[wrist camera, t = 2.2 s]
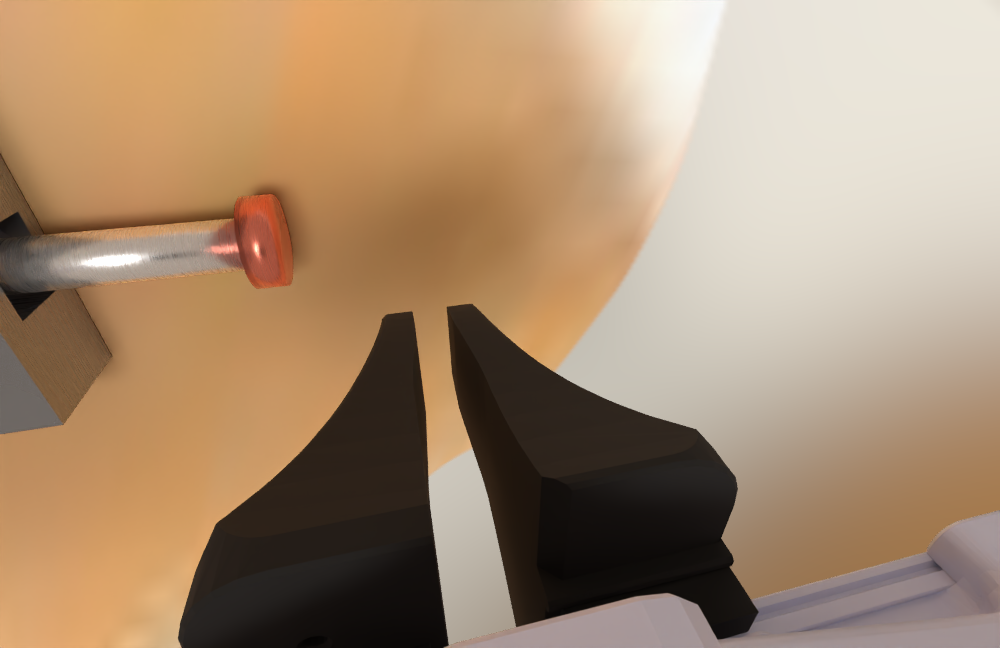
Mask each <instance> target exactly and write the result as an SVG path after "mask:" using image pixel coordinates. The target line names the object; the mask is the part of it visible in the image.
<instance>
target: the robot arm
mask: <svg viewBox="0 0 1000 648" xmlns="http://www.w3.org/2000/svg"><path fill="white" fill-rule="evenodd" d="M447 315H448V327H449V340H450V352H451V365H452V375H453V380H454V385H455V390H456V395H457V400H458V405H459V409H460V412H461V415H462V418H463V421H464V424H465V427H466V430H467V433H468V436H469V439H470V442H471V445H472V448H473V451H474V453H475V457H476V459H477V462H478V466H479V468H480V471H481V474H482V477H483V480H484V484H485V487H486V491H487V494H488V498H489V502H490V507H491V511H492V516H493V520H494V524H495V529H496V534H497V538H498V543H499V548H500V552H501V557H502V561H503V566H504V571H505V575H506V580H507V585H508V590H509V594H510V599H511V604H512V609H513V614H514V619H515V623H516V628H512V629H508V630H504V631H500V632H496V633H493V634H489V635H485V636H481V637H477V638H473V639H469V640H465V641H461V642H457V643H455V644H452V645H449V644H448V637H447V629H446V622H445V615H444V608H443V600H442V592H441V585H440V577H439V570H438V563H437V555H436V548H435V541H434V533H433V526H432V518H431V511H430V500H429V484H428V457H427V430H426V410H425V402H424V394H423V386H422V378H421V371H420V363H419V355H418V347H417V339H416V331H415V323H414V318H413V313H412V311H411V312H403V313H395V314H387V315H386V316H385V317H384V318H383V319H382V323H381V327H380V330H379V333H378V336H377V338H376V341H375V343H374V346H373V348H372V350H371V352H370V354H369V356H368V358H367V360H366V362H365V364H364V366H363V368H362V370H361V372H360V374H359V375H358V377H357V379H356V380H355V382H354V384H353V386H352V387H351V389H350V391H349V392H348V394H347V395H346V397H345V398H344V400H343V401H342V403H341V404H340V405H339V407H338V408H337V410H336V411H335V412H334V414H333V415H332V416H331V418H330V419H329V420H328V421H327V423H326V424H325V425H324V426H323V427H322V429H321V430H320V431H319V432H318V433H317V435H316V436H315V437H314V438H313V439H312V440H311V442H310V443H309V444H308V445H307V446H306V447H305V448H304V449H303V450H302V451H301V452H300V453H299V454H298V455H297V456H296V457H295V458H294V459H293V460H292V461H291V462H290V463H289V464H288V465H287V466H286V467H285V468H284V469H283V470H282V471H281V472H280V473H278V474H277V475H276V476H275V477H274V478H273V479H272V480H271V481H270V482H268V483H267V484H266V485H265V486H264V487H263V488H261V489H260V490H259V491H258V492H256V493H255V494H254V495H252V496H251V497H250V498H249V499H247V500H246V501H245V502H244V503H242V504H241V505H240V506H238V507H237V508H236V509H235V510H233V511H232V512H231V513H230V514H228V515H227V516H226V517H224V518H223V519H222V520H220V521H219V522H218V523H217V524H216V525H215V528H214V530H213V532H212V534H211V537H210V539H209V541H208V544H207V546H206V548H205V550H204V552H203V555H202V557H201V559H200V562H199V564H198V567H197V569H196V572H195V575H194V578H193V582H192V585H191V588H190V592H189V595H188V599H187V602H186V605H185V609H184V612H183V616H182V619H181V623H180V629H179V636H178V640H179V642H180V645H181V647H182V648H1000V510H999V511H995V512H991V513H987V514H984V515H980V516H976V517H972V518H968V519H964V520H961V521H958V522H955V523H953V524H950V525H949V526H947V527H946V528H944V529H942V531H940V532H939V533H938V534H937V535H936V536H935V537H934V539H933V540H932V541H931V543H930V544H929V546H928V547H927V552H924V553H921V554H917V555H913V556H910V557H906V558H902V559H899V560H895V561H891V562H888V563H884V564H880V565H876V566H873V567H869V568H865V569H862V570H858V571H854V572H851V573H847V574H843V575H840V576H836V577H832V578H829V579H825V580H822V581H818V582H814V583H811V584H807V585H803V586H799V587H796V588H792V589H789V590H785V591H781V592H778V593H774V594H770V595H766V596H763V597H759V598H755V599H750V598H749V596H748V595H747V593H746V592H745V590H744V588H743V587H742V585H741V584H740V582H739V581H738V579H737V578H736V576H735V575H734V573H733V572H732V570H731V569H730V567H729V566H732V564H733V562H734V560H733V556H732V554H731V553H730V551H729V550H728V548H727V547H726V545H725V544H724V542H723V541H722V539H721V537H722V534H723V532H724V529H725V527H726V524H727V522H728V519H729V516H730V514H731V512H732V509H733V506H734V503H735V499H736V494H737V490H738V488H737V482H736V477H735V476H734V475H733V473H732V472H731V471H730V469H729V468H728V467H727V466H726V464H725V463H724V462H723V460H722V459H721V458H720V456H719V455H718V454H717V452H716V451H715V450H714V448H712V446H711V445H710V444H709V443H708V442H707V441H706V440H705V438H704V437H703V436H702V435H701V434H700V433H699V432H698V431H697V430H696V429H693V428H690V427H686V426H683V425H679V424H676V423H672V422H669V421H665V420H662V419H658V418H655V417H652V416H649V415H645V414H643V413H640V412H637V411H635V410H632V409H629V408H627V407H624V406H621V405H619V404H616V403H614V402H612V401H609V400H607V399H604V398H602V397H600V396H598V395H596V394H594V393H592V392H590V391H587V390H585V389H583V388H581V387H579V386H577V385H576V384H574V383H572V382H570V381H568V380H566V379H565V378H563V377H561V376H560V375H558V374H556V373H555V372H553V371H551V370H550V369H548V368H547V367H545V366H544V365H542V364H541V363H539V362H538V361H536V360H535V359H534V358H532V357H531V356H530V355H528V354H527V353H526V352H524V351H523V350H522V349H521V348H519V347H518V346H517V345H516V344H515V343H513V342H512V341H511V340H510V339H509V338H508V337H506V336H505V335H504V334H503V333H502V332H501V331H500V330H499V329H498V328H497V327H495V326H494V325H493V324H492V323H491V322H490V321H489V320H488V319H487V318H486V317H485V316H484V315H483V314H482V313H481V312H480V311H479V310H478V309H477V308H476V307H475V306H474V305H473V304H465V305H458V306H450V307H447Z"/></svg>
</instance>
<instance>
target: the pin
mask: <svg viewBox="0 0 1000 648" xmlns="http://www.w3.org/2000/svg"><path fill="white" fill-rule="evenodd" d="M243 270H245V272H246V275H247V277H248V279H249V280H250V282H251V283H252V285H253V286H254V287H255V288H257V289H261V288H270V287H279V286H288V285H290V284H291V283H292V279H293V255H292V247H291V240H290V235H289V231H288V226H287V223H286V219H285V216H284V213H283V210H282V207H281V205H280V203H279V201H278V199H277V198H276V196H275V195H273V194H267V195H254V196H241V197H239V198H238V199H237V201H236V203H235V208H234V218H233V219H221V220H210V221H198V222H186V223H175V224H163V225H152V226H140V227H129V228H117V229H105V230H94V231H82V232H71V233H59V234H47V235H36V236H24V237H13V238H1V239H0V287H1V288H2V290H3V292H4V293H5V295H14V294H24V293H33V292H43V291H52V290H62V289H71V288H81V287H90V286H100V285H109V284H119V283H128V282H138V281H148V280H157V279H167V278H176V277H186V276H195V275H205V274H214V273H224V272H233V271H243Z"/></svg>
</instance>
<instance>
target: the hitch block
mask: <svg viewBox="0 0 1000 648" xmlns="http://www.w3.org/2000/svg"><path fill="white" fill-rule="evenodd" d="M36 235H44V233H43V231H42V229H41V228H40V226H39V224H38V222H37V220H36V219H35V217H34V215H33V213H32V211H31V210H30V208H29V206H28V204H27V202H26V201H25V199H24V197H23V195H22V193H21V192H20V190H19V188H18V186H17V184H16V182H15V181H14V179H13V177H12V175H11V173H10V172H9V170H8V168H7V166H6V164H5V163H4V161H3V159H2V157H1V155H0V239H1V238H13V237H24V236H36ZM111 357H112V356H111V354H110V352H109V350H108V348H107V347H106V345H105V343H104V341H103V339H102V338H101V336H100V334H99V332H98V330H97V328H96V327H95V325H94V323H93V321H92V319H91V318H90V316H89V314H88V312H87V310H86V309H85V307H84V305H83V303H82V301H81V300H80V298H79V296H78V294H77V292H76V291H75V289H74V288H71V289H62V290H52V291H43V292H33V293H24V294H14V295H5V293H4V292H3V290H2V288H1V287H0V434H5V433H12V432H18V431H25V430H32V429H38V428H45V427H52V426H58V425H64V423H65V422H66V420H67V419H68V418H69V416H70V415H71V413H72V412H73V411H74V409H75V408H76V406H77V405H78V404H79V402H80V401H81V399H82V398H83V397H84V395H85V394H86V392H87V391H88V390H89V388H90V387H91V385H92V384H93V383H94V381H95V380H96V378H97V377H98V376H99V374H100V373H101V371H102V370H103V369H104V367H105V366H106V364H107V363H108V362H109V360H110V359H111Z"/></svg>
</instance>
